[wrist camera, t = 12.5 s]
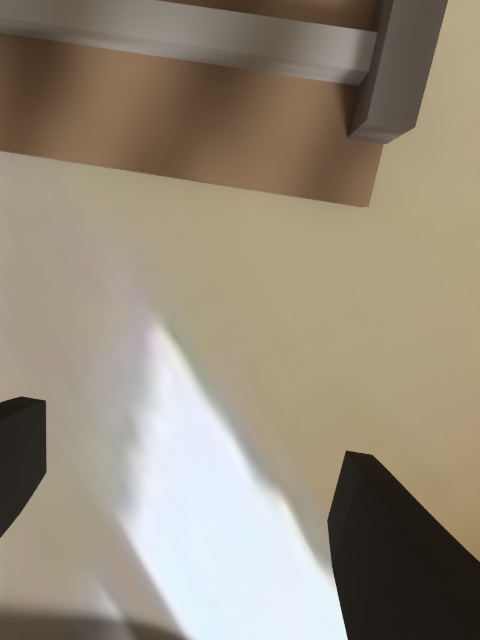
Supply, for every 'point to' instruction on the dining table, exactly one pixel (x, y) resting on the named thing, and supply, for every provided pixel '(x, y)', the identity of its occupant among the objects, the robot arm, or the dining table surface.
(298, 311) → the dining table surface
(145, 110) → the rail board
